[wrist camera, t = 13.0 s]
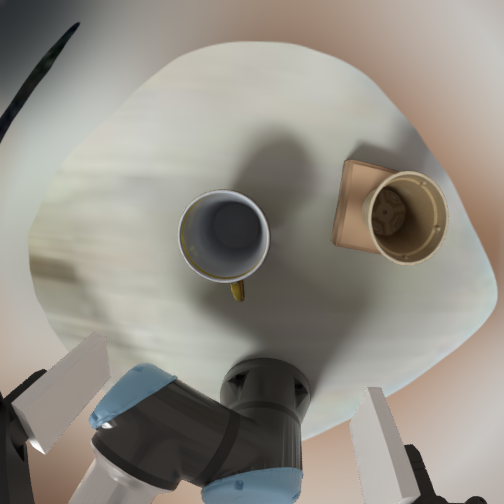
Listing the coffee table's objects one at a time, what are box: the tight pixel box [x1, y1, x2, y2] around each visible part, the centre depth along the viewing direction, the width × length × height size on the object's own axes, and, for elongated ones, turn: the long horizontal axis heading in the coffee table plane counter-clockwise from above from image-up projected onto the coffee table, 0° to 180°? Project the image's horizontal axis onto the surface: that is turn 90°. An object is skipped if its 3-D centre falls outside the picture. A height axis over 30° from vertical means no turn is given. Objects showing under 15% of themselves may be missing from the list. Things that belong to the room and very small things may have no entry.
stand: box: [331, 159, 402, 254], centre depth 35 cm, size 11×11×4 cm
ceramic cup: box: [178, 189, 271, 302], centre depth 35 cm, size 13×10×10 cm
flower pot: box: [362, 171, 449, 265], centre depth 29 cm, size 9×9×9 cm
